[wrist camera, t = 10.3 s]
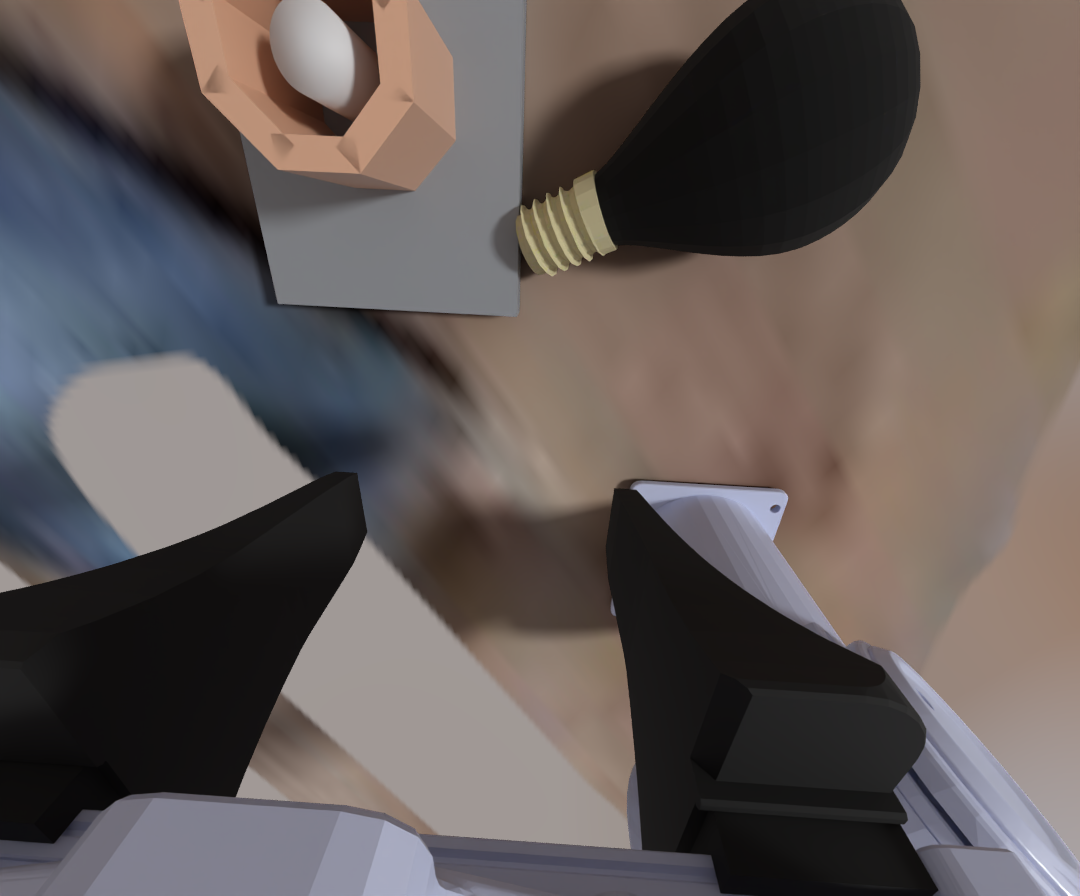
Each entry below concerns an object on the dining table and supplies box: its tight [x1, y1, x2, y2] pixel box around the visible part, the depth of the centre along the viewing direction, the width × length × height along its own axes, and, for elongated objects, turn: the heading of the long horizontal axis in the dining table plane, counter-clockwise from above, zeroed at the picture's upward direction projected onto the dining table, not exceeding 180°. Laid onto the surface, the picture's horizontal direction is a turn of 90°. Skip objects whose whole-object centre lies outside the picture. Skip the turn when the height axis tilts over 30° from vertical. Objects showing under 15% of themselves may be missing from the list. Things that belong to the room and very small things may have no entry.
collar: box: [179, 0, 456, 191], centre depth 12 cm, size 6×5×5 cm
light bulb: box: [516, 0, 920, 276], centre depth 14 cm, size 7×7×12 cm
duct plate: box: [240, 0, 526, 317], centre depth 13 cm, size 14×10×5 cm
